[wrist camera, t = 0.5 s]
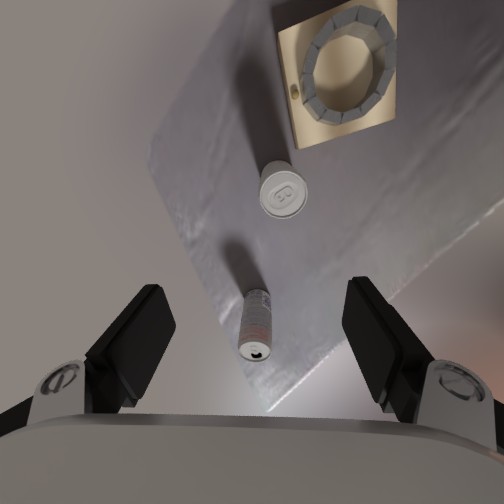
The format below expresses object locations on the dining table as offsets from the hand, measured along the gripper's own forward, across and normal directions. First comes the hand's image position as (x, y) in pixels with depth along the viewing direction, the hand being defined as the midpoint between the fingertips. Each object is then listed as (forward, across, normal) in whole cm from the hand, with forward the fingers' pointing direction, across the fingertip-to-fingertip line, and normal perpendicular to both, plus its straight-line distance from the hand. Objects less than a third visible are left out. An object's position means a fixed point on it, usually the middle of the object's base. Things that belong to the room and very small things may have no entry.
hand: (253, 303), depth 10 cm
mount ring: (+21, -9, -13) cm, 26 cm away
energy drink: (+24, +2, +20) cm, 32 cm away
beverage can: (+24, -2, -3) cm, 24 cm away
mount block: (+24, -9, -13) cm, 28 cm away
